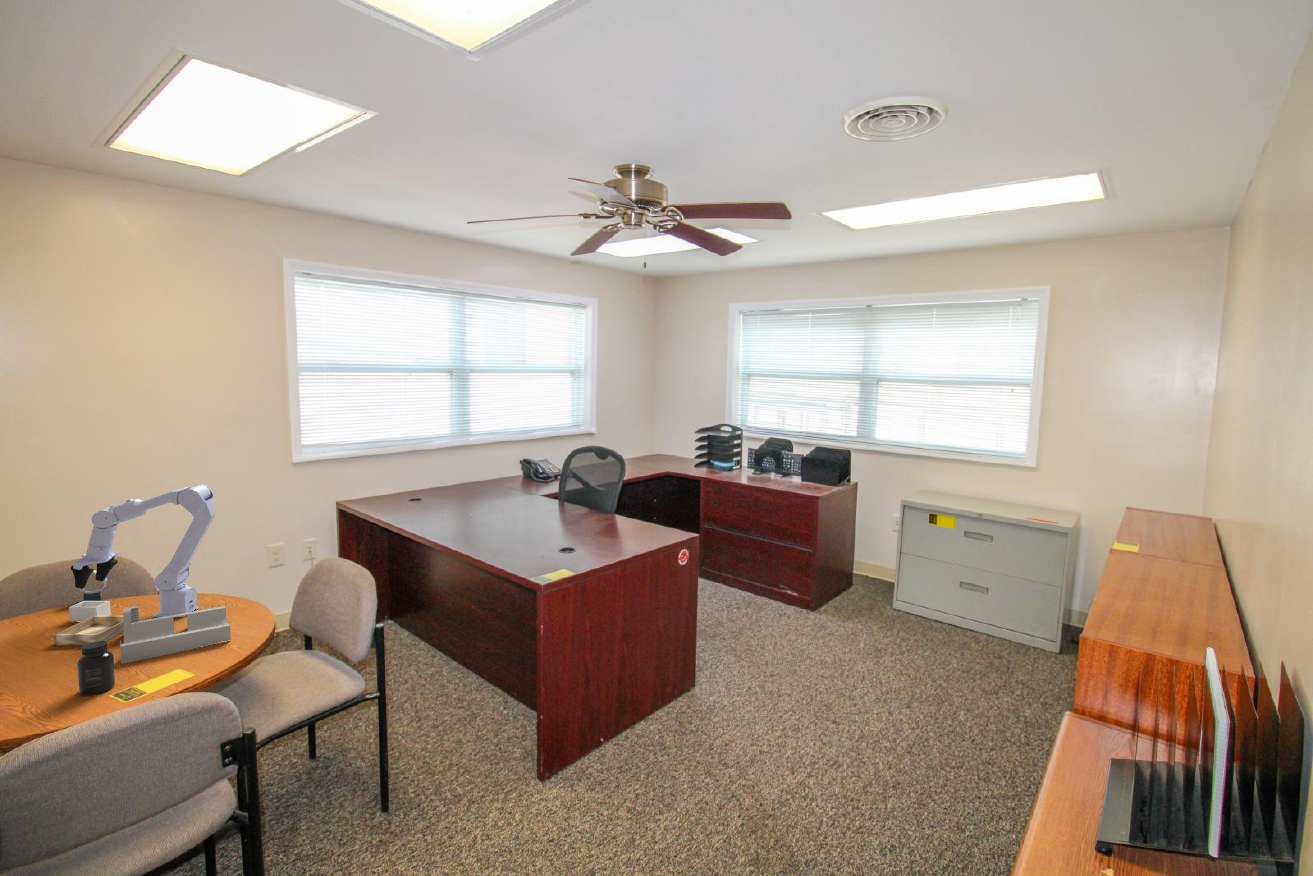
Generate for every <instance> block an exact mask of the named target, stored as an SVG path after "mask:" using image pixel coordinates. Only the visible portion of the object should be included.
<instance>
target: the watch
mask: <svg viewBox="0 0 1313 876" xmlns="http://www.w3.org/2000/svg"><path fill="white" fill-rule="evenodd" d="M93 570H94V571H93V572H92V573H91V574H93V575H94V577H96V571H97V569H93ZM99 582H100V583H103V585H102V586H101V587H99V588H98V589H94V590H93V589H92V590H86V589H85V587H84V588H83V589H80V588H77V590H79V591H80V592H81V593H82V594H83V595H82V597H83V601H102V590H103V589H104V588H105V587H106V585H107V582H108V578H107V577H106V578H105V580H104V581H102V582H101V581H99Z"/></svg>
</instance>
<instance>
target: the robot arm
mask: <svg viewBox="0 0 1313 876" xmlns="http://www.w3.org/2000/svg"><path fill="white" fill-rule="evenodd" d="M215 497H216V496H215V493H214V492H213V490H212V489H211V487H210V486H208V485H206V484H204V483H199V484H195V485H193V486H191V485H190V486H186V487H181V488H177V489H174V490H172V491H168V492H165V493H163V494H159V495H156V496H154V497H151V498H148V499H144V500H142V499H140V498H135V499H133V498H129V499H126V500H125V502H122V503H120V504H111V505H110V506H109V507H107V508H104V509H101V510H98V511H96V512H95V513H93V515H92V517H91V523H92V525H93V526H92V530H91V533H90V537H89V542H88V546H87V549H86V551H85V553H84V554H82V555H81V558H80V559H79V560H77V561H75V562H74V563H73V565H71V567H70V571H71V572H72V574H73V578H74V584H75V585H74V587H75V588H76V589H78V588H80V589H83V588H84V589H85V587H86V586H87V583H88V580H89V578H90V576H91V575H92V574H93V573H92V572H93V571H94V570H95V569H93V568H90V567H89V566H92V565H96V577H95V576H94V577H95V579H94V580H95V581H98V582H100V581H101V582H100V583H102V581H104V580H105V578H107V576H108V574H109V573H110V572H111V570H112V569H113V568H114V567H115V566H116V565H117V564H118V563H119V560H118V559H117V557H118V554H119V552H118V551H114V550H112V547H113V544H114V540H115V537H116V532H117V529H118V525H119V524H120V523H124V522H127V521H130V520H133V519H136V518H139V517H142V516H145V515H146V513H147V512H148V510H151V509H154V508H157V507H160V506H161V507H162V506H164V505H168V504H171V503H172V504H174V505H176V506H178V505H180V506H181V507H183V509H185V510H186V511H187V512H189V513H190V514H191V516H192V517H193V519H192V521H191V523H190V525H189V526H188V527H187V530H186V531H185V534H184V536H183V538H182V539H181V541H180V543H179V545H178V547H177V548H176V551H175V552H174V555H173V556H172V558H171V560H170V561H169V562H168V563H167V565H166V566H164V568H163V570H162V571H161V572H160V573H158V574H157V575H156V576H155V578H154V581H153V582H154V585H155V587H156V588H157V589H158V593H159V597H158V598H159V612H158V613H156V615H155V614H153V615H152V618H159V617H165V616H170V615H176V614H180V612H181V614H182V613H188V612H192V611H194V610H195V609H196V610H198V609H200V606H198V594H197V593H198V591H197V589H196V588H195V587H194V586H193V587H192V586H189V585H188V584H187V581H186V580H187V579H188V578H189V577H190V573H191V571H190V568H191V566H192V562H191V561H192V559H193V558H194V556H195V554H196V553H197V550H198V548H199V546H200V544H201V542H202V540H203V539H204V537H205V535H206V533H207V531H208V529H209V528H210V526H211V524H212V523H213V520H214V519H215V515H216V511H215V502H214V501H215ZM196 607H197V608H196ZM190 608H191V609H190ZM184 609H185V610H184ZM186 609H187V610H186ZM178 610H179V611H178ZM189 610H190V611H189ZM196 610H195V611H196ZM172 611H174V613H173V612H172ZM183 611H184V612H183ZM177 612H178V613H177ZM161 613H162V614H161ZM171 613H172V614H171ZM160 615H161V616H160ZM154 616H155V617H154ZM179 618H185V616H180V617H179Z"/></svg>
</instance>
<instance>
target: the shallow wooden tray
mask: <svg viewBox="0 0 1313 876" xmlns="http://www.w3.org/2000/svg"><path fill="white" fill-rule="evenodd" d="M121 632H122V633H124V623H123V615H111V616H92V617H90V618H88V619H86V620H84V621H82V622H77V623H76V624H74V625H72V626H69V627H67V628H66V629H64V630H61V631H60V632H57V633H55V634H53V646H84V645H86V644H88V643H92V642H97V641H106V642H108V641H110V640H111V639H113V638H115V637H116V636H118V634H119V635H120V634H122V633H121ZM114 636H115V637H114Z"/></svg>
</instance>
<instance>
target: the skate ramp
mask: <svg viewBox="0 0 1313 876" xmlns="http://www.w3.org/2000/svg"><path fill="white" fill-rule="evenodd" d="M226 604H227V603H226V602H224V605H221V603H218V604H217V605H218V607H217V606H215V604H211V607H210V608H204V609H202V607H199V610H195V611H193V612H188V613H182V614H181V612H180V614H176V615H170V616H165V617H155V616H154V615H156V614H157V613H156V614H154V615H153V616H154V617H152V618H150V617H151V614H150V615H148V616H149V617H147V615H145V616H142V617H144V618H146V619H144V618H142V617H141V619H144V620H140V611H139V603H138V601H136V602H135V603H134V605H135V606H131V605H132V602H130V603H129V604H128V606H129V607H125V605H123V615H122V616H123V623H124V632H123V643H122V641H121V639H120V641H119V651H120V665H123V664H128V663H133V662H137V661H142V660H143V661H144V660H146V659H151V658H157V657H162V656H167V655H172V654H177V653H180V652H179V651H182V652H184V651H183V650H186V651H191V650H194V649H193V648H196V649H198V648H197V647H201V646H206V647H209V646H208V645H211V644H215V643H218V642H221V641H228V640H232V639H231V621H230V619H229V621H227V605H226ZM220 605H221V606H220ZM214 606H215V607H214ZM197 607H198V606H197ZM197 607H196V608H197ZM206 607H209V605H208V604H207V605H206ZM190 609H191V608H190ZM184 610H185V609H184ZM186 610H187V609H186ZM178 611H179V610H178ZM189 611H190V610H189ZM172 612H173V613H174V611H172ZM183 612H184V611H183ZM177 613H178V612H177ZM161 614H162V613H161ZM171 614H172V613H171ZM160 616H161V615H160ZM180 616H184V617H186V622H187V623H186V624H187V625H186V626H187V630H186V631H184V629H183V630H180V632H179V631H176V632H177V633H175V623H174V620H175V619H174V618H181V617H180ZM147 618H149V619H147ZM207 627H209V628H207ZM211 646H212V645H211ZM201 648H202V647H201ZM190 649H191V650H190ZM176 652H177V653H176Z"/></svg>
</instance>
